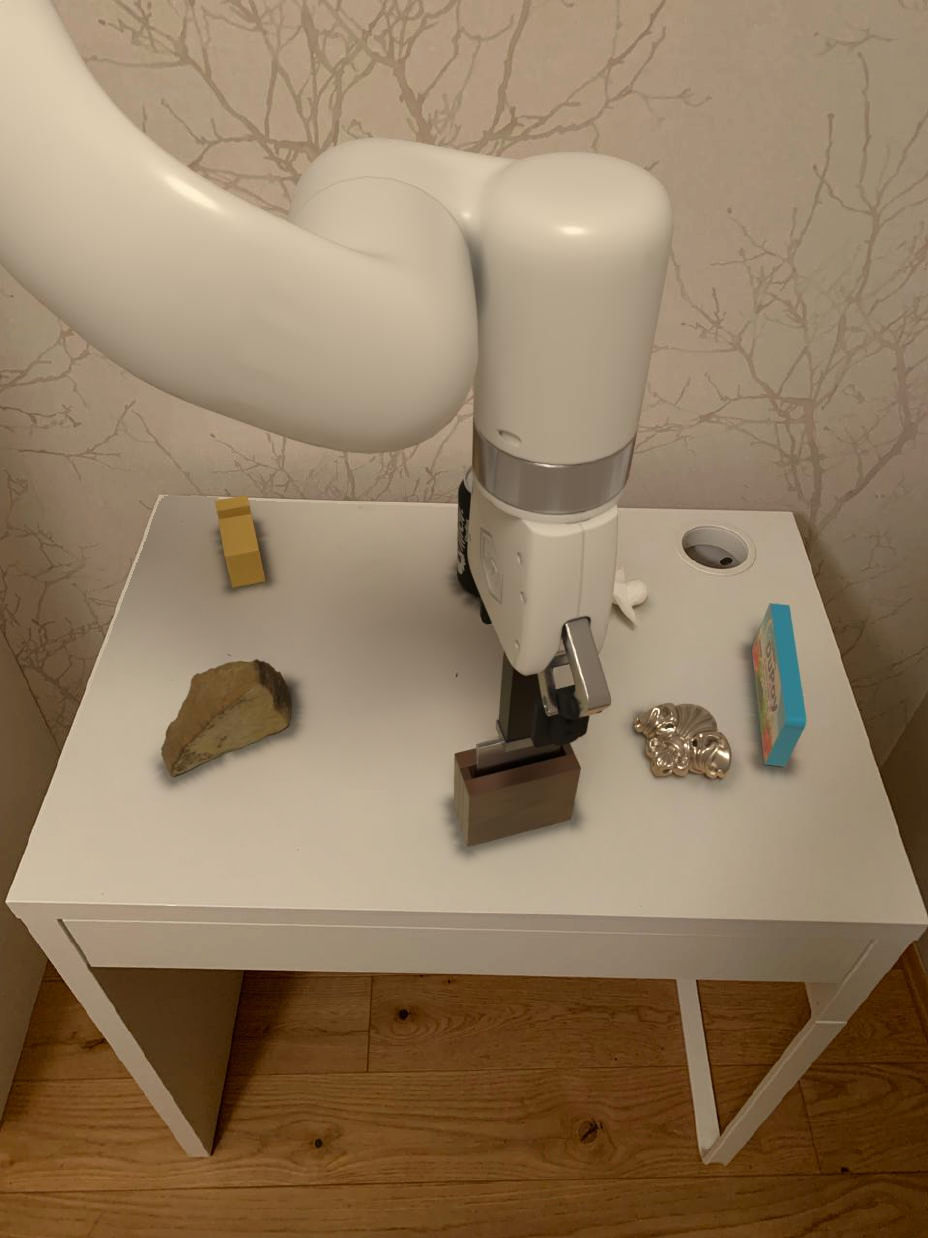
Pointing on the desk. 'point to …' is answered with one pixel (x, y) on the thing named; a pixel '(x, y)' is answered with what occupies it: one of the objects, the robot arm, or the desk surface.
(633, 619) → the toy bird
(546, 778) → the knife block
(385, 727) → the desk surface
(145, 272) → the robot arm
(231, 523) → the butter block
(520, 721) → the knife
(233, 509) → the butter slice
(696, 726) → the ornament
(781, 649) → the blue product box
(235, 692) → the rock
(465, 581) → the beverage can
